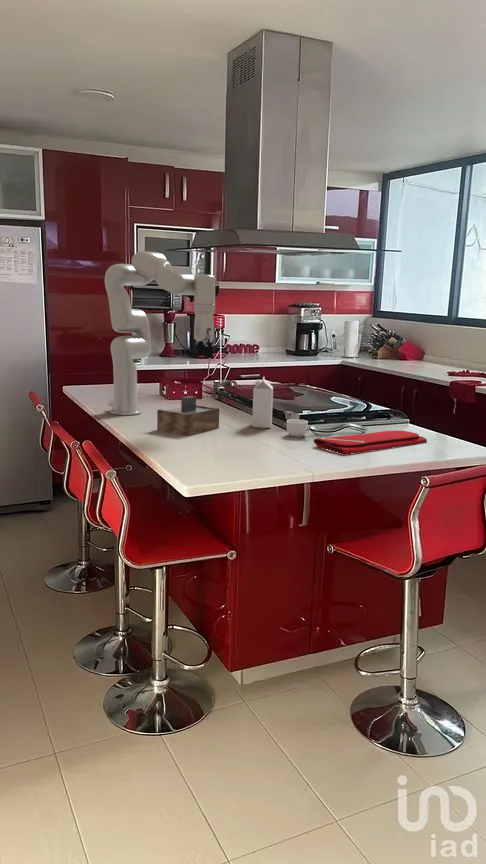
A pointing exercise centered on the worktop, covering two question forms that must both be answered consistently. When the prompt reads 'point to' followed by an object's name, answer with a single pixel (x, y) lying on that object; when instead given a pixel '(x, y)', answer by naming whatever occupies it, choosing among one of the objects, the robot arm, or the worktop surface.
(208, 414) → the walnut box
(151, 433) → the worktop surface
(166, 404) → the worktop surface
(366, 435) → the dish drying mat
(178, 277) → the robot arm
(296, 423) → the teacup
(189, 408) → the cover plate
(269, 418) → the milk carton
